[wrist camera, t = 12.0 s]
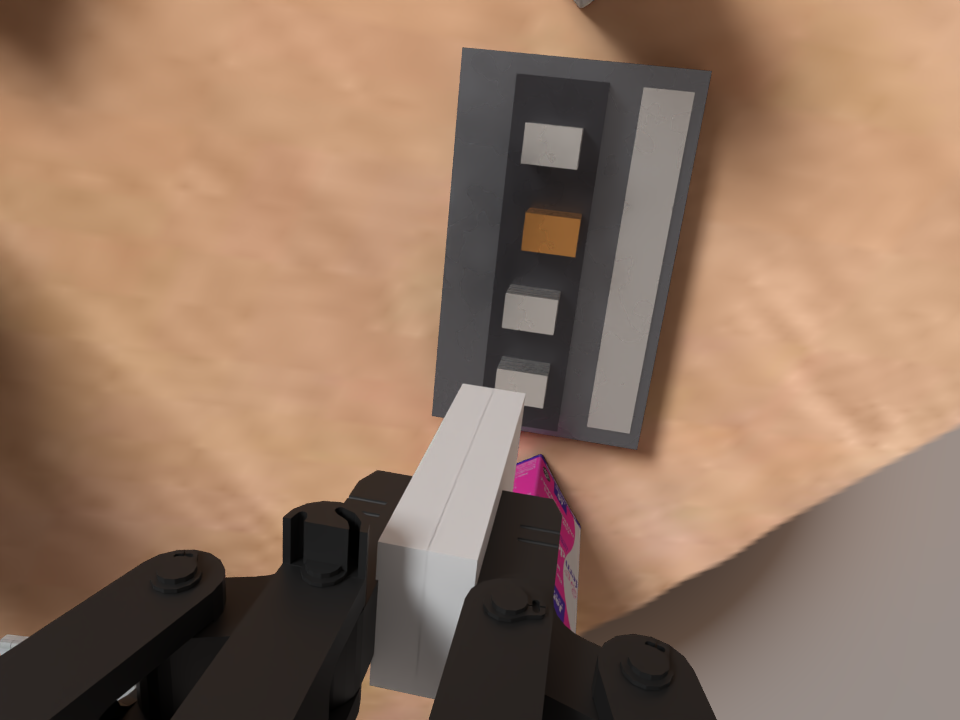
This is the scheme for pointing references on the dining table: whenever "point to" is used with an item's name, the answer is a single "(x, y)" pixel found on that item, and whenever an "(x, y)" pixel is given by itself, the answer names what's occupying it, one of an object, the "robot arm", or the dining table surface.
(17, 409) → the dining table surface
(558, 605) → the supplement box
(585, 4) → the skincare box
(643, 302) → the breaker panel
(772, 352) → the dining table surface
